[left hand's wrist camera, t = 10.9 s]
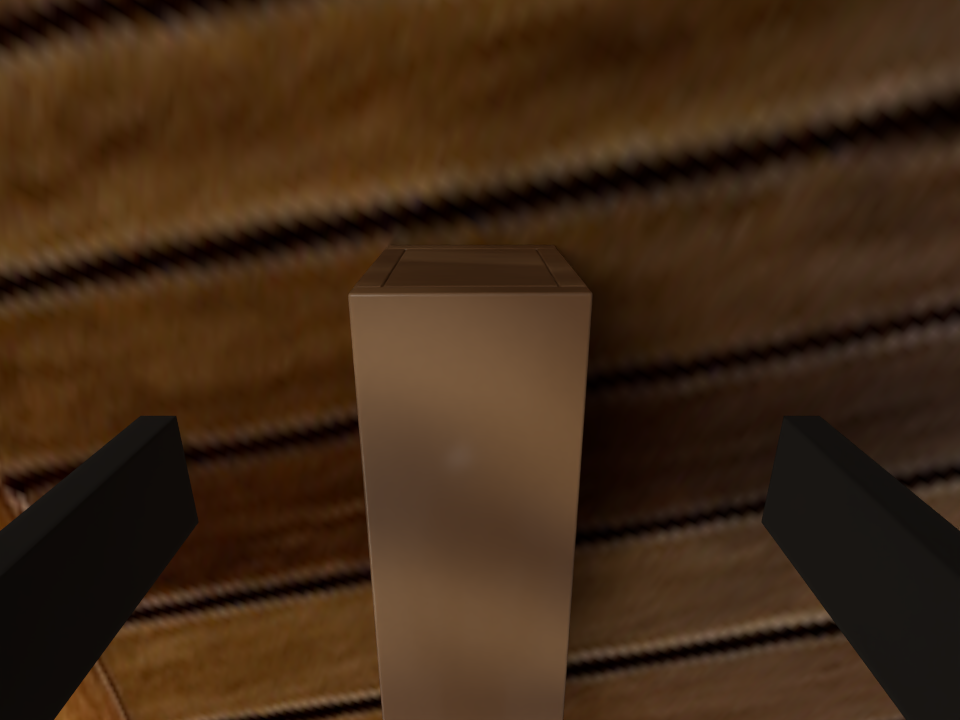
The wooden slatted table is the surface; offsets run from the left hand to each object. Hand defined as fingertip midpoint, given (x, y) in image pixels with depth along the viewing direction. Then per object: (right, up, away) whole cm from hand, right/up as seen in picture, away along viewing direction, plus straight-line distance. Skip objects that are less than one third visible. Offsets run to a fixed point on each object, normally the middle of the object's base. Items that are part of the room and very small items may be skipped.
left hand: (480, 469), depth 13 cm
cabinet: (0, -1, +13) cm, 13 cm away
